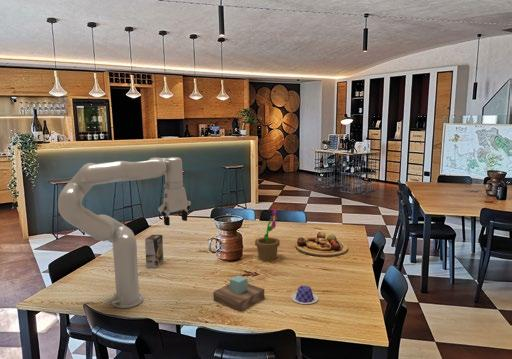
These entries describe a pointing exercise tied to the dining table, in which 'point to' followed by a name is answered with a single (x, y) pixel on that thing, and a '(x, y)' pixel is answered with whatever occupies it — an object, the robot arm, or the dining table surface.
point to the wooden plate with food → (321, 246)
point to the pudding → (304, 295)
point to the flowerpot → (268, 243)
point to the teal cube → (238, 284)
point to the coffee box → (154, 251)
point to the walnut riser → (238, 297)
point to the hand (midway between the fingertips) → (175, 222)
